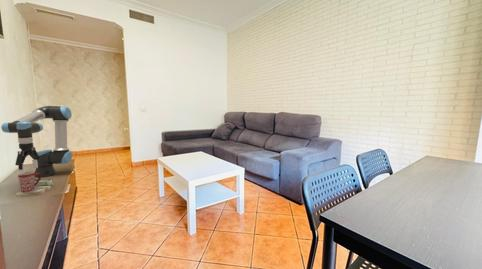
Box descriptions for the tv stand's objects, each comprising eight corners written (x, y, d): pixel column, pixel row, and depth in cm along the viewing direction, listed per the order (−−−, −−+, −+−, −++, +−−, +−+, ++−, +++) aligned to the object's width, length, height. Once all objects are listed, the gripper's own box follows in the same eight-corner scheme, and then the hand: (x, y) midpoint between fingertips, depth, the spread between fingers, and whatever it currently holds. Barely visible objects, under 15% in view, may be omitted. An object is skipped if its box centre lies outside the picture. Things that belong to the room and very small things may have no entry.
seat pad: (27, 187, 166) (27, 187, 166) (44, 187, 168) (43, 186, 168) (16, 193, 155) (16, 193, 155) (34, 192, 158) (34, 192, 158)
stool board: (34, 186, 173) (33, 179, 172) (54, 185, 176) (53, 178, 175) (16, 196, 155) (15, 188, 155) (39, 194, 159) (38, 187, 158)
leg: (53, 183, 175) (52, 178, 174) (51, 185, 171) (50, 180, 171) (30, 185, 170) (29, 180, 169) (27, 186, 166) (27, 181, 166)
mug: (21, 193, 154) (20, 175, 152) (17, 190, 158) (15, 173, 157) (44, 188, 165) (43, 171, 163) (39, 185, 169) (38, 169, 168)
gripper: (18, 146, 146) (22, 176, 149) (43, 139, 170) (45, 165, 173) (5, 146, 144) (9, 176, 148) (32, 139, 168) (34, 165, 172)
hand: (29, 170), depth 160 cm, fingers open, 13 cm apart
